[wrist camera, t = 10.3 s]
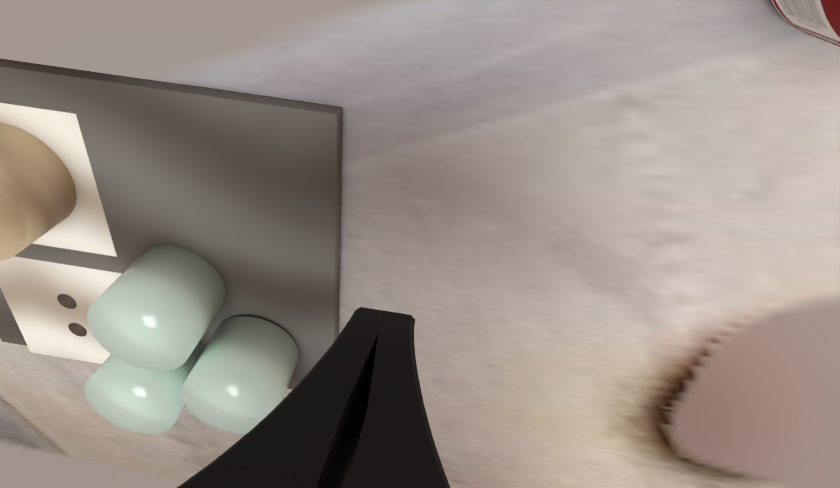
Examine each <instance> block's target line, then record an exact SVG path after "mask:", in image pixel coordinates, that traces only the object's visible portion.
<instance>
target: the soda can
mask: <svg viewBox="0 0 840 488" xmlns="http://www.w3.org/2000/svg"><path fill="white" fill-rule="evenodd" d="M771 2H772V3H773V5H774V7H775V8H776V10H777V11H778V12H779V13H780V15H781V16H782V17H783V18H784V19H785V20H786V21H787V22H789V23H790V24H791V25H793V26H794V27H795V28H797V29H799V30H801V31H803V32H804V33H807V34H809V35H812V36H814V37H817V38H819V39H822V40H824V41H827V42H829V43H832V44H835V45H837V46H840V0H771Z"/></svg>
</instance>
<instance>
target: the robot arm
mask: <svg viewBox="0 0 840 488" xmlns="http://www.w3.org/2000/svg"><path fill="white" fill-rule="evenodd" d="M414 325H415V319H414V318H413V317H412V316H411V315H407V314H401V313H394V312H388V311H382V310H375V309H369V308H362V307H360V308H358V309H357V310H355V312H354V314H353V315H352V317H351V319H350V320H349V322H348V323H347V325H346V326H345V328H344V329H343V330H342V332H341V333H340V335H339V336H338V337H337V339H336V340H335V341H334V343H333V344H332V345H331V346H330V348H329V349H328V350H327V351H326V353H325V354H324V355H323V356H322V357H321V359H320V360H319V361H318V362H317V363H316V365H315V366H314V367H313V368H312V369H311V371H310V372H309V373H308V374H307V375H306V376H305V377H304V378H303V379H302V380H301V382H300V383H299V384H298V385H297V386H296V387H295V388H294V389H293V390H292V391H291V392H290V393H289V394H288V395H287V397H286V398H285V399H284V400H283V401H282V402H281V403H280V404H279V405H277V406H276V407H275V408H274V409H273V410H272V411H271V412H270V413H269V414H268V415H267V416H266V417H265V418H264V419H263V420H262V421H261V422H259V423H258V424H257V425H256V426H255V427H254V428H253V429H252V430H251V431H249V432H248V433H247V434H246V435H245V436H244V437H242V438H241V439H240V440H239V441H238V442H236V443H235V444H234V445H233V446H232V447H230V448H229V449H228V450H227V451H226V452H224V453H223V454H222V455H221V456H219V457H218V458H217V459H216V460H214V461H213V462H212V463H210V464H209V465H208V466H206V467H205V468H204V469H202V470H201V471H199V472H198V473H197V474H195V475H194V476H193V477H191V478H190V479H188V480H187V481H186V482H184V483H183V484H182V485H180V486H179V487H177V488H450V486H449V483H448V481H447V478H446V475H445V472H444V470H443V467H442V464H441V461H440V458H439V455H438V452H437V449H436V446H435V443H434V440H433V437H432V433H431V430H430V426H429V423H428V419H427V415H426V411H425V407H424V403H423V398H422V394H421V389H420V383H419V378H418V372H417V366H416V358H415V349H414Z"/></svg>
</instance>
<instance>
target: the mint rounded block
mask: <svg viewBox="0 0 840 488" xmlns="http://www.w3.org/2000/svg"><path fill="white" fill-rule="evenodd" d="M204 350H205V346H204V345H203V343H202V342H201V341H199V343H198V344H197V346H196V347H195V349H194V350H193V352H192V353H191V355H190V356H189V358H188V359H187V361H186V362H185V363H184V364H183V365H182V366H180V367H178V368H176V369H173V370H170V371H161V372H160V371H149V370H144V369H140V368H137V367H134V366H132V365H129V364H127V363H125V362H123V361H121V360H119V359H118V358H116V357H115V356H113V355H112V354H110V355H109V357H108V358H107V359H106V360H105V361H104V363H103V364H102V365H101V366H100V367H99V368H98V370H97V371H96V372H95V373H94V374H93V375H92V377H91V378H90V379H89V380H88V382H87V383H86V385H85V396H86V398H87V400H88V402H89V404H90V405H91V407H92V408H93V409H94V410H95V411H96V412H97V413H98V414H99V415H100V416H102V417H103V418H104V419H106V420H107V421H109V422H111V423H112V424H114V425H116V426H118V427H121V428H123V429H126V430H128V431H132V432H136V433H141V434H159V433H163V432H165V431H168V430H169V429H170V428H171V427H172V426H173V425H174V423H175V422H176V420H177V418H178V417H179V415H180V414H181V412H182V410H183V409H184V407H185V405H184V403H183V401H182V399H181V387H182V385H183V384H184V382H185V381H186V379H187V377H188V376H189V374H190V372H191V371H192V369H193V367H194V366H195V364H196V363H197V361H198V359H199V358H200V356H201V354H202V353H203V351H204Z"/></svg>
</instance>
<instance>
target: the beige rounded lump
mask: <svg viewBox="0 0 840 488" xmlns="http://www.w3.org/2000/svg"><path fill="white" fill-rule="evenodd" d="M76 200H77V198H76V188H75V185H74V181H73V179H72V177H71V174H70V173H69V171H68V169H67V167H66V166H65V165H64V163H63V162H62V160H61V159H60V158H59V157H58V156H57V155H56V154H55V153H54V152H53V151H52V150H51V149H50V148H49V147H48V146H47V145H46V144H45V143H43V142H42V141H41V140H39V139H38V138H36V137H35V136H33V135H32V134H30V133H28V132H26V131H24V130H22V129H20V128H17V127H15V126H11V125H8V124H3V123H0V261H2V260H6V259H9V258H12V257H14V256H15V255H17V254H18V253H19V252H21V251H22V250H23V249H25V248H26V247H28V246H29V245H30V244H32V243H33V242H34V241H36V240H37V239H38V238H40V237H41V236H43V235H44V234H45V233H47V232H48V231H49V230H51V229H52V228H53V227H55V226H56V225H58V224H59V223H60V222H62V221H63V220H64V219H66V218H67V217H68V216H69V215H70V214H71V213H72V212H73V210H74V208H75V205H76Z"/></svg>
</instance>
